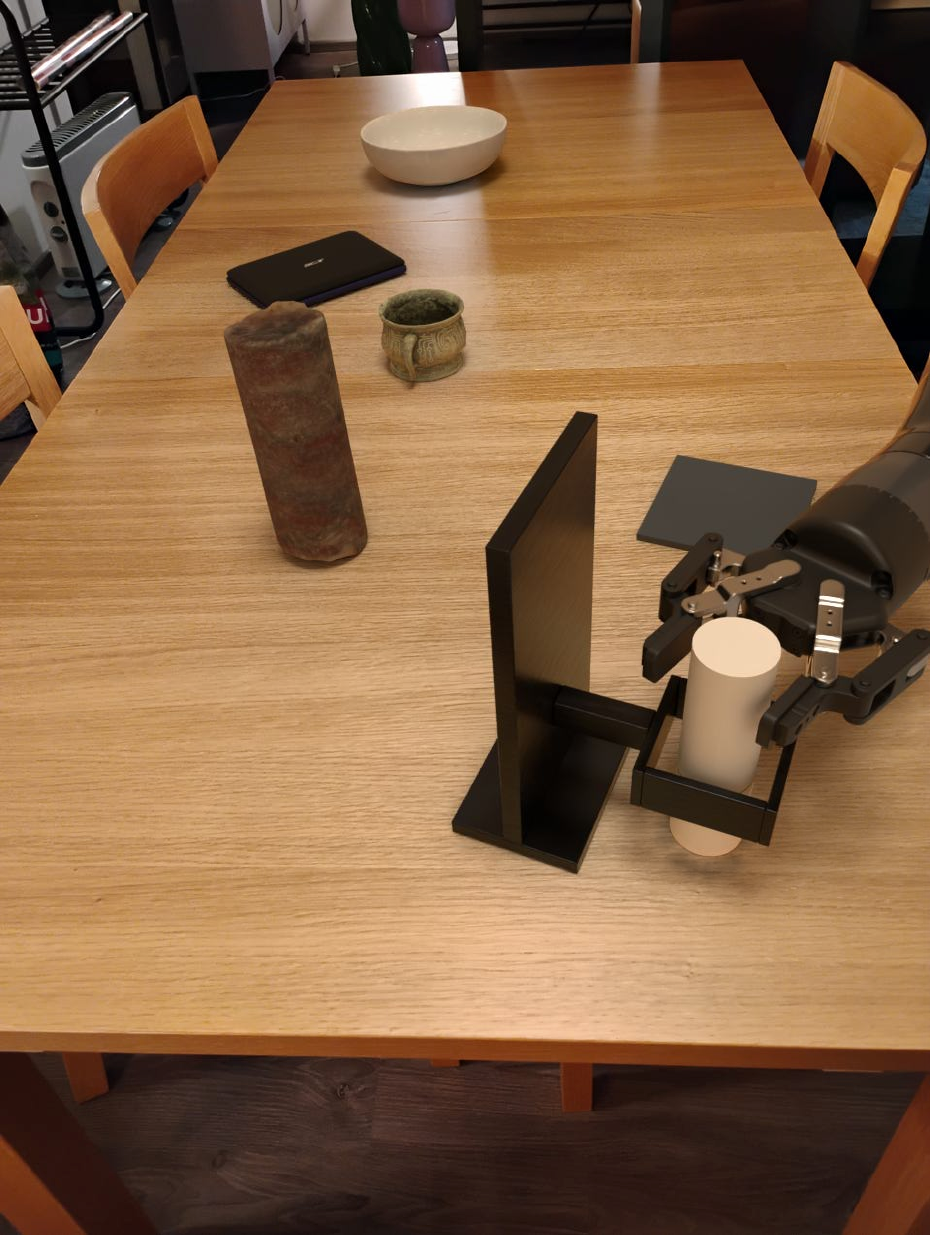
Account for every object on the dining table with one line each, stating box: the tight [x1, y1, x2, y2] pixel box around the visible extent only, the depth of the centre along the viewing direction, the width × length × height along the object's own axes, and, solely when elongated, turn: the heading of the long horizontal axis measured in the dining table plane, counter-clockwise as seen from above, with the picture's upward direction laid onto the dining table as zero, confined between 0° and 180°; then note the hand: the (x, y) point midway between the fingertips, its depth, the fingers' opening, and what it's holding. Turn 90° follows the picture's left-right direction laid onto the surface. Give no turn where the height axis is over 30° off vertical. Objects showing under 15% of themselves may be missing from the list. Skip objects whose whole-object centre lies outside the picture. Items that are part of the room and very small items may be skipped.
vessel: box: [378, 288, 467, 383], centre depth 101 cm, size 12×9×6 cm
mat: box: [635, 454, 818, 556], centre depth 81 cm, size 12×12×1 cm
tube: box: [669, 617, 782, 857], centre depth 54 cm, size 4×4×15 cm
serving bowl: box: [359, 104, 508, 187], centre depth 142 cm, size 21×21×7 cm
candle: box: [223, 301, 368, 562], centre depth 75 cm, size 8×7×20 cm
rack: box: [451, 410, 800, 874], centre depth 53 cm, size 18×12×23 cm
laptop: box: [225, 230, 407, 310], centre depth 120 cm, size 16×20×2 cm
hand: (704, 700), depth 49 cm, fingers open, 6 cm apart
